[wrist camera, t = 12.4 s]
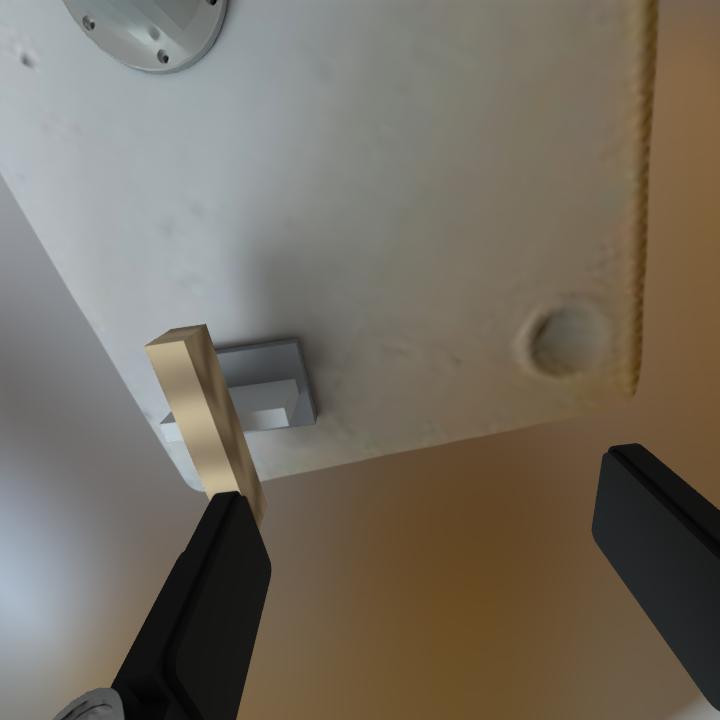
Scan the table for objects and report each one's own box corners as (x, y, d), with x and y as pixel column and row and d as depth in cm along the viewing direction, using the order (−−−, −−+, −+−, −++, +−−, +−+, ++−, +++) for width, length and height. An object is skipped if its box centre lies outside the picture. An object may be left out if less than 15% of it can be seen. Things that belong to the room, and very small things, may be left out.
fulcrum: (173, 356, 38) (131, 388, 31) (298, 338, 37) (284, 367, 31) (202, 431, 42) (172, 475, 35) (316, 417, 41) (308, 458, 34)
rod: (171, 329, 29) (144, 346, 25) (206, 324, 29) (183, 340, 25) (239, 507, 37) (226, 540, 33) (267, 504, 37) (256, 537, 33)
